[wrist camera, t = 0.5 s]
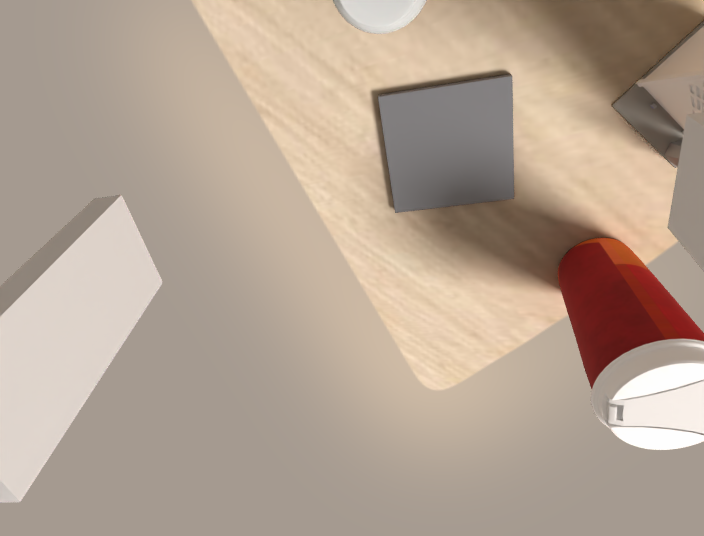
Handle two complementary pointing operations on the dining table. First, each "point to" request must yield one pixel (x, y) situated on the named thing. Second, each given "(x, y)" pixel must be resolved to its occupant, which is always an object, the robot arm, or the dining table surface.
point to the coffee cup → (634, 347)
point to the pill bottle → (379, 13)
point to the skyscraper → (668, 96)
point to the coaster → (450, 143)
